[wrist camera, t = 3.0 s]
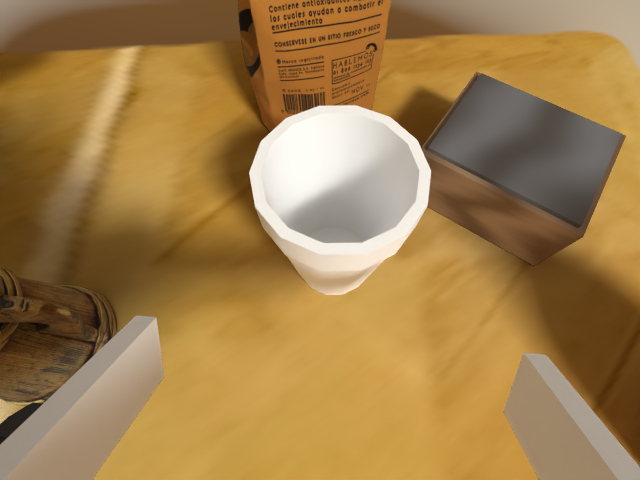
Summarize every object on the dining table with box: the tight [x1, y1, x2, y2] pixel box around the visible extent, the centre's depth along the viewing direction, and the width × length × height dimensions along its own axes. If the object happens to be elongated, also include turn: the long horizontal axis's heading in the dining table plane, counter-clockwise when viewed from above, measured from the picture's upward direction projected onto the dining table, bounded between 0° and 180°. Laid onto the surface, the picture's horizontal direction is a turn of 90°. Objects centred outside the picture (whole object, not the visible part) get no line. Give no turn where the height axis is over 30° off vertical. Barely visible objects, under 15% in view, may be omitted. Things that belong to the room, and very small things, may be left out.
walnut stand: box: [421, 72, 626, 266], centre depth 29 cm, size 13×11×6 cm
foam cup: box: [249, 105, 431, 295], centre depth 23 cm, size 10×9×13 cm
